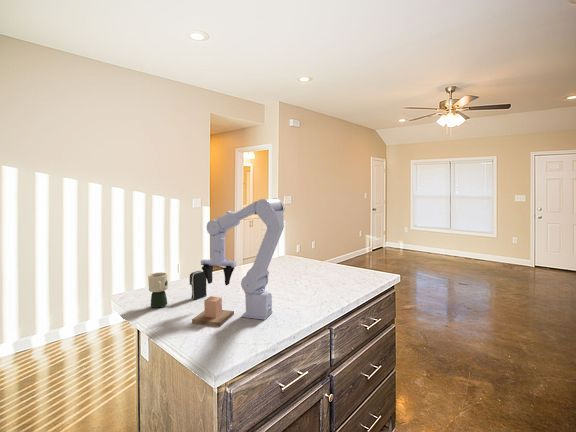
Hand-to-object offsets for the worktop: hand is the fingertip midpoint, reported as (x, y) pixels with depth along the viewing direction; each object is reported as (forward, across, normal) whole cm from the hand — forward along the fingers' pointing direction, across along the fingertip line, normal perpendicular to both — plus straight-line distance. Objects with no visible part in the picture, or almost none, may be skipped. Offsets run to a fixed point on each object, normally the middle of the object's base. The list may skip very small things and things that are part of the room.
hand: (218, 283), depth 129 cm
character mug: (+10, +24, +6) cm, 27 cm away
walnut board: (+10, -4, +11) cm, 15 cm away
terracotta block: (+8, -4, +11) cm, 14 cm away
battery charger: (+10, +15, -8) cm, 20 cm away
